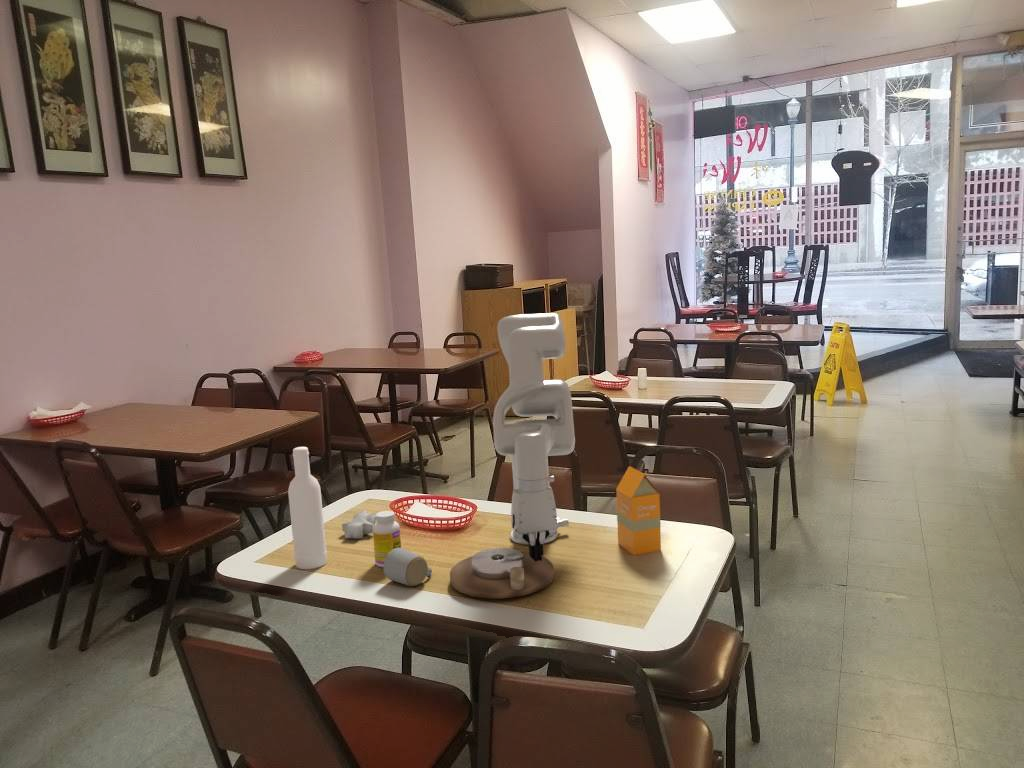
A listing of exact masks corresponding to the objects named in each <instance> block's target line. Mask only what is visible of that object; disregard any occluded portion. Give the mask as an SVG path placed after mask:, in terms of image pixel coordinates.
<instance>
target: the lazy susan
mask: <svg viewBox="0 0 1024 768" xmlns="http://www.w3.org/2000/svg"><path fill="white" fill-rule="evenodd" d="M519 551H520V552H521V553H522V554H523V555H524V569H523V568H522V567H513V568H511V569H510V579H505V580H485V579H481V578H478V577H476V576H475V575H474V574H473V572H472V557H473V556H474V555H473V556H470V557H467V558H464V559H462V560H460V561H459V562H457V563H456V564H455V565H453V566H452V568H451V569H450V570H449V571H450V572H449V579H450V580H449V581H450V584H451V586H452V588H454V590H456V591H458V592H459V593H460V594H464V595H466V596H470V597H474V598H479V599H480V598H481V599H493V600H495V599H496V600H497V599H498V600H499V599H500V600H501V599H511V598H518V597H522V596H526V595H530V594H533V593H536V592H538V591H541V590H543V589H544V588H546V587H547V586H549V585H550V584H551V583H552V582H553V580H554V578H555V567H554V565H553V563H552V562H551V561H550V560H549V559H548V558H546V557H545V556H544V555H542V561H539V560H538V561H536V562H535V561H534V560H533V559H532V558H531V557H530V556H529V551H521V550H519Z"/></svg>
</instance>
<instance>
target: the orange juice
mask: <svg viewBox="0 0 1024 768" xmlns="http://www.w3.org/2000/svg"><path fill="white" fill-rule="evenodd" d="M615 491H616V521H617V544H618V545H619V546H621V547H622V548H624V549H625V550H626V551H627V552H629V553H630V554H632V555H633V556H635V555H641V554H647V553H652V552H658V551H661V550H662V549H661V548H662V547H661V546H662V541H661V526H662V525H661V503H660V502H661V501H660V500H661V499H660V497H661V496H660V493H659V492H658V490H657V489H656V488H655V486H654V485H653V483H652V482H651V481H650V479H649V478H648V477H647V475H646V473H644V472H641V471H640V470H638V469H636V468H634V467H632V466H630V465H629V466H628V467H627V469H626V470H625V473H624V474H623V476H622V478H621V479H620V481H619V482H618V485H617V487H616V488H615Z"/></svg>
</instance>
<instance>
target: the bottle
mask: <svg viewBox="0 0 1024 768" xmlns="http://www.w3.org/2000/svg"><path fill="white" fill-rule="evenodd" d="M309 455H310V452H309V447H307V446H297V447H295V448H293V449H292V458H293V465H294V466H293V467H294V474H295V475H294V477H293V478H292V479H291V481H290V482H289V486H288V489H287V490H288V491H287V492H288V504H289V515H290V523H291V532H292V533H291V534H292V544H293V552H294V554H293V557H294V562H295V563H294V564H295V565H294V566H295V567H296V568H297V569H300V570H314V569H318V568H320V567H323V566H324V565H326V564H327V562H328V551H327V550H328V549H327V544H326V534H325V524H324V523H325V522H324V521H325V520H324V513H323V502H322V492H321V485H320V483H319V481H318V479H317V478H316V477H314V476H313V475H312V474H311V469H310V468H311V465H310V457H309Z"/></svg>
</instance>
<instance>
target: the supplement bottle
mask: <svg viewBox="0 0 1024 768" xmlns="http://www.w3.org/2000/svg"><path fill="white" fill-rule="evenodd" d="M381 511H382V512H379V511H378V512H379V513H377V512H376V513H377V514H376V521H375V525H374V526H373V533H372V537H373V549H374V561H375V562H374V563H375V565H376V566H377V567H380V568H384V561H385V559H386V557H387V555H388V553H389V552H390V551H391V550H393V549H395V548H402V539H401V528H400V527H401V526H400V524H399V523H398V522H397V521H396V520H395V518H396V516H395V515H396V513H395V512H394V511H392V510H384V511H383V510H381Z"/></svg>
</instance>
